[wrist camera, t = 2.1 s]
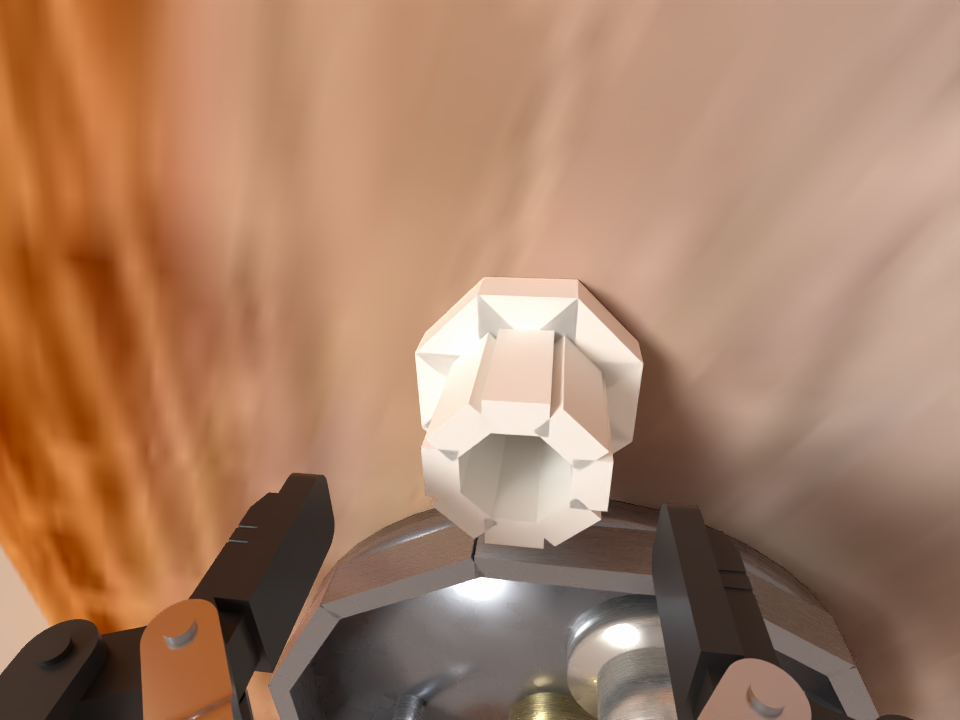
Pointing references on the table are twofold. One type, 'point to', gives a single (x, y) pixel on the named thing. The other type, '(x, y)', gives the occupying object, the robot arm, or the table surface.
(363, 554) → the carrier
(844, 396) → the table surface
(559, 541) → the white faceted ring
